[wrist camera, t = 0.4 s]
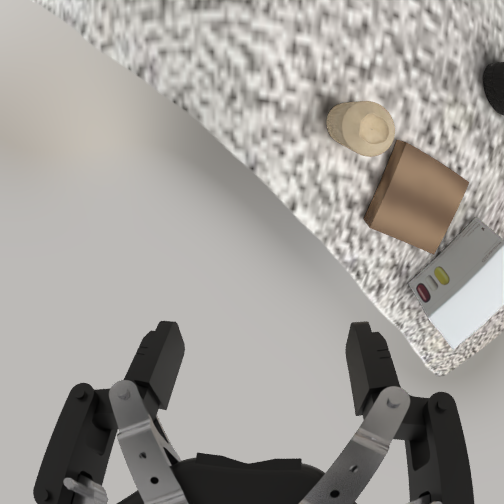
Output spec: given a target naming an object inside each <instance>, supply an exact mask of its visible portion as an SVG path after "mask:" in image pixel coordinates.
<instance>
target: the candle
mask: <svg viewBox="0 0 504 504" xmlns="http://www.w3.org/2000/svg"><path fill="white" fill-rule="evenodd" d="M326 124H327V129H328V132H329V134H330V135H331V137H332V138H333V139H334V140H335V141H337V142H338V143H340V144H342V145H343V146H345V147H347V148H349V149H351V150H353V151H354V152H356V153H358V154H360V155H363V156H370V157H372V156H377V155H380V154H382V153H384V152H385V151H386V150H387V149H388V148H389V147H390V146H391V144H392V142H393V139H394V135H395V127H394V122H393V119H392V117H391V115H390V114H389V112H388V111H387V110H386V109H385V108H384V107H382V106H381V105H379V104H377V103H375V102H371V101H359V102H347V103H341V104H338V105H336V106H335V107H333V108H332V109H331V111H330V112H329V114H328V116H327V121H326Z"/></svg>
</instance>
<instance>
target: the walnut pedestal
mask: <svg viewBox="0 0 504 504" xmlns="http://www.w3.org/2000/svg"><path fill="white" fill-rule="evenodd" d="M468 184H469V182H468V181H467V180H465V179H464V178H462V177H461V176H459V175H458V174H457V173H455V172H454V171H452V170H451V169H449V168H448V167H446V166H445V165H443V164H442V163H440V162H438V161H437V160H435V159H434V158H432V157H430V156H429V155H427V154H426V153H424V152H422V151H420V150H419V149H417V148H415V147H414V146H412V145H410V144H408V143H406V142H403V141H400V140H397V141H396V143H395V146H394V149H393V151H392V154H391V156H390V159H389V161H388V164H387V166H386V169H385V171H384V174H383V176H382V178H381V181H380V183H379V185H378V188H377V190H376V192H375V195H374V197H373V199H372V201H371V204H370V206H369V208H368V210H367V212H366V214H365V217H364V220H365V222H366V223H367V225H368V226H369V227H370V228H372V229H374V230H377V231H379V232H382V233H384V234H387V235H389V236H392V237H394V238H396V239H399V240H401V241H404V242H406V243H408V244H411V245H413V246H416V247H418V248H420V249H422V250H425V251H427V252H429V253H432V254H434V253H435V252H436V250H437V248H438V246H439V244H440V243H441V241H442V239H443V237H444V235H445V233H446V231H447V229H448V227H449V225H450V223H451V221H452V219H453V217H454V215H455V213H456V211H457V209H458V207H459V205H460V202H461V200H462V198H463V196H464V193H465V191H466V189H467V186H468Z"/></svg>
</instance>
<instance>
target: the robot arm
mask: <svg viewBox="0 0 504 504" xmlns="http://www.w3.org/2000/svg"><path fill="white" fill-rule="evenodd" d="M184 351H185V347H184V342H183V339H182V336H181V333H180V330H179V327H178V324H177V323H176V322H170V321H161V322H159V324H158V326H157V328H156V331H150V332H149V333H148V334H147V335H146V336H145V337H144V338H143V340H142V342H141V344H140V346H139V348H138V350H137V353H136V355H135V357H134V359H133V361H132V363H131V365H130V368H129V370H128V372H127V374H126V376H125V378H124V380H121V381H118V382H117V383H115V384H114V385H113V386H112V387H111V388H110V389H100V390H94V389H93V388H92V386H91V385H89V384H87V383H80V384H77V385H76V386H74V387H73V388H72V390H71V391H70V393H69V396H68V398H67V400H66V402H65V405H64V407H63V409H62V412H61V414H60V416H59V419H58V421H57V424H56V426H55V429H54V431H53V434H52V436H51V439H50V442H49V444H48V447H47V450H46V452H45V455H44V458H43V461H42V464H41V467H40V470H39V473H38V476H37V479H36V483H35V486H34V490H33V491H34V492H33V494H34V498H35V501H36V502H37V504H107V502H108V498H107V494H106V491H105V490H104V488H103V487H102V483H103V479H104V475H105V471H106V468H107V464H108V460H109V457H110V453H111V450H112V446H113V443H114V439H115V436H116V433H117V429H119V431H120V433H119V434H118V435H117V437H118V441H119V444H120V446H121V449H122V452H123V455H124V458H125V460H126V463H127V465H128V468H129V470H130V472H131V475H132V477H133V480H134V482H135V484H136V486H137V488H138V490H137V491H136V492H135V493H133V494H131V495H130V496H128V497H127V498H125V499H124V500H122V501H121V502H119V503H117V504H357V503H356V502H355V500H356V499H357V498H358V496H359V495H360V493H361V492H362V491H363V489H364V488H365V487H366V485H367V484H368V482H369V481H370V479H371V478H372V476H373V474H374V473H375V472H376V470H377V469H378V467H379V465H380V464H381V462H382V460H383V459H384V457H385V456H386V454H387V452H388V450H389V445H390V443H391V441H392V439H399V440H405V447H406V455H407V464H408V476H409V490H410V502H409V503H408V504H474V495H473V486H472V478H471V471H470V465H469V459H468V454H467V448H466V444H465V439H464V434H463V430H462V426H461V422H460V418H459V414H458V410H457V407H456V403H455V401H454V399H453V397H452V396H451V395H449V394H448V393H445V392H438V393H435V394H433V395H432V396H431V397H430V398H420V397H413V396H410V395H409V394H408V393H407V392H406V391H405V390H404V389H402V388H401V387H400V385H399V381H398V378H397V374H396V371H395V368H394V365H393V361H392V358H391V355H390V352H389V351H388V346H387V343H386V340H385V339H384V338H383V336H382V335H381V334H380V333H379V332H371V328H370V325H369V323H368V322H353V323H351V326H350V330H349V335H348V339H347V343H346V359H347V365H348V370H349V376H350V382H351V388H352V394H353V400H354V407H355V414H356V416H359V415H363V418H364V421H363V423H362V424H361V426H360V427H359V429H358V430H357V432H356V433H355V434H354V436H353V437H352V439H351V440H350V442H349V443H348V444H347V446H346V447H345V448H344V450H343V451H342V453H341V454H340V455H339V457H338V458H337V459H336V461H335V462H334V463H333V464H332V466H331V467H330V468H329V469H328V471H327V472H326V473H324V472H323V471H321V470H320V469H318V468H315V467H313V466H310V465H307V464H302V463H301V459H273V460H267V461H262V462H257V463H251V464H247V463H243V462H239V461H236V460H233V459H230V458H227V457H224V456H218V455H211V454H203V453H197V457H196V458H191V459H186V460H183V461H181V460H180V457H179V456H178V454H177V453H176V452H175V450H174V448H173V447H172V445H171V443H170V442H169V439H168V437H167V435H166V433H165V431H164V429H163V427H162V425H161V423H160V421H159V418H158V416H157V412H158V409H164V410H166V409H167V407H168V403H169V400H170V397H171V393H172V390H173V387H174V384H175V381H176V378H177V375H178V372H179V369H180V365H181V362H182V359H183V356H184Z"/></svg>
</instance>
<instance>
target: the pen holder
mask: <svg viewBox="0 0 504 504" xmlns="http://www.w3.org/2000/svg"><path fill="white" fill-rule="evenodd" d="M484 88H485V92H486V95H487V98H488V100H489V102H490V103H491V105H492V106H493V108H494V109H495V110H496V111H497V112H498V113H500V114H502V115H504V62H500V63H493V64H490V65H488V66H487V68H486V70H485V72H484Z"/></svg>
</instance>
